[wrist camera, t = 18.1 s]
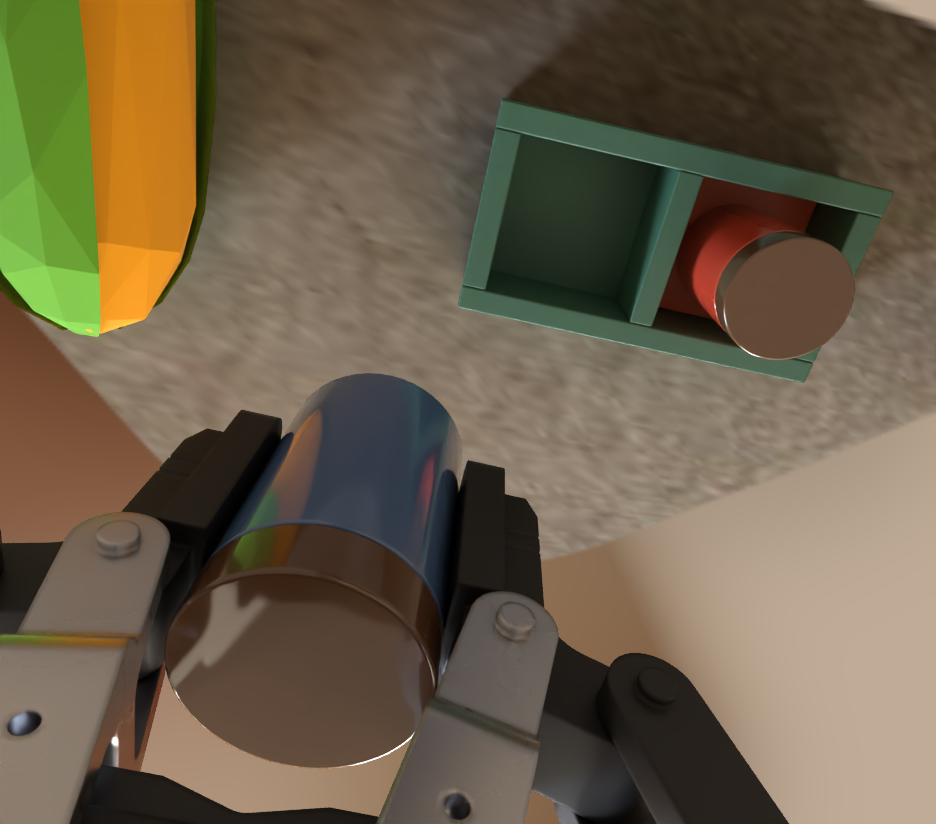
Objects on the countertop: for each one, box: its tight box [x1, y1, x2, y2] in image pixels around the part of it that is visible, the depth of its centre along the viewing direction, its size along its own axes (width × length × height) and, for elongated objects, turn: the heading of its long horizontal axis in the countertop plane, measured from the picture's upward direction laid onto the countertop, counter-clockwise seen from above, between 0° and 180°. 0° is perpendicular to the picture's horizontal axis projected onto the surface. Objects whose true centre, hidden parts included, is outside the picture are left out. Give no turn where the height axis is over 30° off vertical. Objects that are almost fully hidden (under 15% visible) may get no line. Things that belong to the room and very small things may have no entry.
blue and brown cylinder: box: [164, 373, 462, 769], centre depth 12 cm, size 4×4×6 cm
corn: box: [0, 0, 216, 337], centre depth 20 cm, size 7×8×20 cm
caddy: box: [458, 98, 894, 383], centre depth 24 cm, size 7×12×4 cm, turn 78°
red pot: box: [676, 204, 855, 360], centre depth 22 cm, size 4×4×6 cm
